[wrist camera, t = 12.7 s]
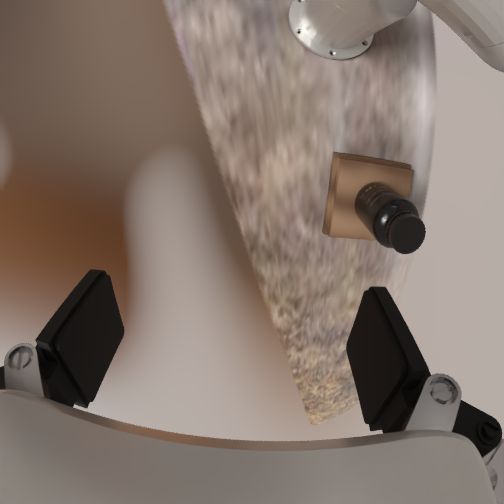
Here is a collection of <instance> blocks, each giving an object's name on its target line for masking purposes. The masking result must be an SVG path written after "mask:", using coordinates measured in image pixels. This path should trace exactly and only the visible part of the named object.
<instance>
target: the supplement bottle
mask: <svg viewBox="0 0 504 504" xmlns="http://www.w3.org/2000/svg"><path fill="white" fill-rule="evenodd" d="M354 206H355V212H356V215H357V216H358V218H359V219H360V221H361V222H362V223H363V224H364V226H365V227H366V228H367V229H368V230H369V232H370V233H371V234H372V235H373V237H374V238H375V239H376V240H377V241H378V242H379V243H380V244H381V245H383V246H385V247H387V248H394V249H395V250H396V251H397V252H399V253H402V254H409V253H412V252H414V251H416V250H417V249H418V248H419V247H420V246H421V244H422V243H423V240H424V238H425V233H426V231H425V225H424V224H423V221H421V219H420V218H419V214H418V211H417V209H416V207H415V206H414V204H413V203H412V202H411V201H409V200H408V199H407V198H405V197H404V196H402V195H401V194H399V193H398V192H396V191H395V190H394V189H392V188H391V187H389V186H387V185H386V184H383V183H380V182H372V183H369V184H367V185H365V186H364V187H363V188H361V190H360V191H359V192H358V194H357V196H356V198H355V204H354Z"/></svg>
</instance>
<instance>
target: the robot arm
mask: <svg viewBox="0 0 504 504" xmlns="http://www.w3.org/2000/svg"><path fill="white" fill-rule="evenodd" d="M298 1H301V3H300V2H298ZM418 1H419V2H420V3H421V4H423V5H424V6H426V7H427V8H429V9H430V10H431V11H432V12H433V13H434V14H436V15H437V16H438V17H439V18H440V19H441V20H443V21H444V22H445V23H446V24H447V25H448V26H449V27H450V28H451V29H452V30H453V31H454V32H455V33H456V34H457V35H458V36H459V37H460V38H461V39H462V40H463V41H464V42H466V43H467V44H468V46H469V47H470V48H471V49H472V50H473V51H474V52H475V53H476V54H477V55H478V56H479V57H480V58H481V59H482V60H484V61H485V62H486V63H487V64H489V65H490V66H491V67H493V68H494V69H496V70H499V71H501V72H504V0H418ZM416 3H417V0H294V1H293V2H292V4H291V7H290V10H289V18H288V20H289V25H290V28H291V30H292V33H293V34H294V36H295V37H296V39H297V40H298V41H299V42H300V43H301V44H302V45H303V46H304V47H305V48H307V49H308V50H309V51H311V52H313V53H315V54H317V55H319V56H322V57H325V58H329V59H338V60H342V59H349V58H352V57H355V56H357V55H359V54H361V53H362V52H364V51H365V50H366V49H367V48H368V47H369V46H370V44H371V42H372V40H373V37H374V33H376V32H378V31H380V30H381V29H383V28H385V27H387V26H389V25H391V24H393V23H394V22H396V21H398V20H400V19H402V18H404V17H405V16H407V15H408V14H409V13H410V12H411V11H412V10H413V9H414V7H415V5H416ZM298 31H299V32H300V34H298V33H297V32H298ZM362 43H364V45H363V44H362ZM330 53H332V54H333V55H330ZM123 336H124V326H123V323H122V319H121V316H120V313H119V309H118V305H117V302H116V298H115V294H114V291H113V287H112V282H111V278H110V276H109V275H107V274H106V272H105V271H103V270H94V269H92V270H90V271H89V272H88V273H87V274H86V275H85V276H84V278H83V279H82V280H81V281H80V282H79V283H78V285H77V286H76V287H75V288H74V290H73V291H72V292H71V293H70V294H69V296H68V297H67V298H66V300H65V301H64V302H63V303H62V305H61V306H60V307H59V308H58V310H57V311H56V312H55V314H54V315H53V316H52V318H51V319H50V321H49V322H48V323H47V324H46V326H45V327H44V329H43V330H42V331H41V333H40V334H39V335H38V337H37V338H36V342H37V345H36V347H34V346H33V345H32V344H30V343H20V344H17V345H15V346H14V347H12V348H11V349H10V350H9V351H8V353H7V354H6V356H5V360H4V366H2V367H0V504H504V439H502V429H501V426H500V424H499V423H498V422H497V420H496V419H495V418H493V417H492V416H490V415H488V414H486V413H484V412H483V411H480V410H479V409H477V408H475V407H473V406H471V405H469V404H468V403H466V402H464V401H462V400H461V389H460V387H459V385H458V383H457V382H456V381H455V380H454V379H453V378H451V377H450V376H448V375H445V374H438V373H437V374H433V375H431V374H430V372H429V369H428V366H427V364H426V362H425V360H424V358H423V356H422V354H421V352H420V350H419V348H418V346H417V344H416V342H415V340H414V338H413V336H412V334H411V332H410V330H409V328H408V326H407V324H406V322H405V321H404V319H403V317H402V315H401V313H400V311H399V309H398V308H397V306H396V304H395V302H394V300H393V299H392V297H391V295H390V293H389V292H388V290H387V288H386V287H370V288H369V290H366V291H365V292H364V294H363V297H362V300H361V303H360V306H359V309H358V312H357V315H356V318H355V321H354V324H353V327H352V330H351V333H350V336H349V338H348V341H347V345H346V351H347V355H348V359H349V362H350V366H351V370H352V374H353V377H354V381H355V385H356V389H357V393H358V397H359V401H360V405H361V410H362V414H363V418H364V421H365V423H366V424H369V427H370V431H376V430H382V431H383V434H377V435H370V436H362V437H353V438H343V439H342V438H341V439H330V440H315V441H247V440H246V441H245V440H231V439H219V438H209V437H200V436H193V435H186V434H179V433H173V432H167V431H162V430H156V429H151V428H146V427H142V426H137V425H133V424H128V423H124V422H120V421H116V420H112V419H109V418H105V417H102V416H99V415H95V414H92V413H88V412H85V411H82V410H79V409H76V408H73V406H74V404H76V405H78V406H81V407H84V408H88V405H89V403H90V402H93V400H94V399H95V397H96V394H97V392H98V390H99V387H100V385H101V383H102V381H103V378H104V376H105V374H106V372H107V370H108V368H109V365H110V363H111V361H112V359H113V357H114V355H115V353H116V350H117V348H118V346H119V344H120V342H121V340H122V338H123Z"/></svg>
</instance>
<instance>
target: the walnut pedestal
mask: <svg viewBox="0 0 504 504" xmlns="http://www.w3.org/2000/svg"><path fill="white" fill-rule="evenodd" d="M410 168H411V165H409V164H404V163H399V162H394V161H389V160H383V159H378V158H372V157H366V156H359V155H352V154H345V153H338V152H333V157H332V165H331V173H330V181H329V189H328V196H327V203H326V210H325V217H324V223H323V229H322V232H323V234H328V235H329V237H337V238H351V239H365V240H376V239H375V238H374V237H373V235H372V234H371V233H370V232H369V230H368V229H367V228H366V227H365V226H364V224H363V223H362V222H361V221H360V219H359V218H358V216H357V215H356V212H355V206H354V204H355V198H356V196H357V194H358V192H359V191H360V190H361V188H363V187H364V186H365V185H367V184H369V183H372V182H380V183H383V184H386V185H387V186H389V187H391V188H392V189H394V190H395V191H396V192H398V193H399V194H401V195H402V196H404V197H405V198H407V199H408V197H409V192H410V187H411V182H412V177H413V172H414V171H413V170H411V169H410Z"/></svg>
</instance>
